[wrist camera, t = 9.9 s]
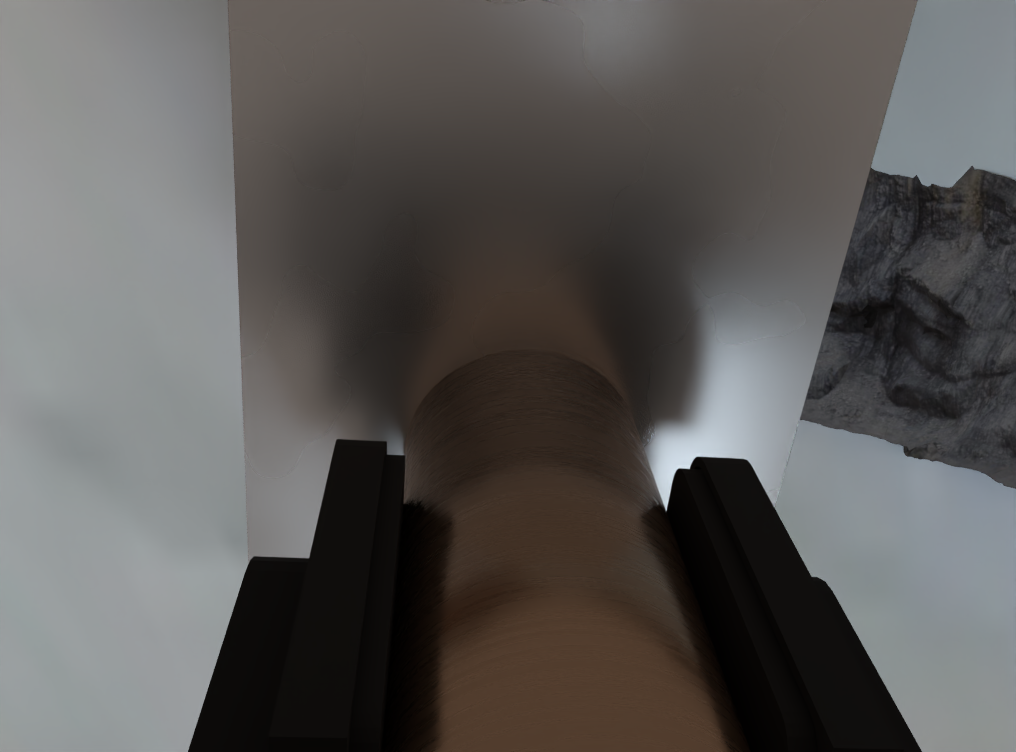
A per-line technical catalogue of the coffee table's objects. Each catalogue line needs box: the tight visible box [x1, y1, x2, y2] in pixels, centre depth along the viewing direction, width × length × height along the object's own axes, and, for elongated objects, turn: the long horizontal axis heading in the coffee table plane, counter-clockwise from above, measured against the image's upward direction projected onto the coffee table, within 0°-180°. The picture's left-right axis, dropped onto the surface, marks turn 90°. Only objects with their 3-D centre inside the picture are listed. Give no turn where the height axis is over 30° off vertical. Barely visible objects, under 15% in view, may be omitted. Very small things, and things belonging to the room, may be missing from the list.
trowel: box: [228, 0, 918, 752], centre depth 8 cm, size 7×10×8 cm
